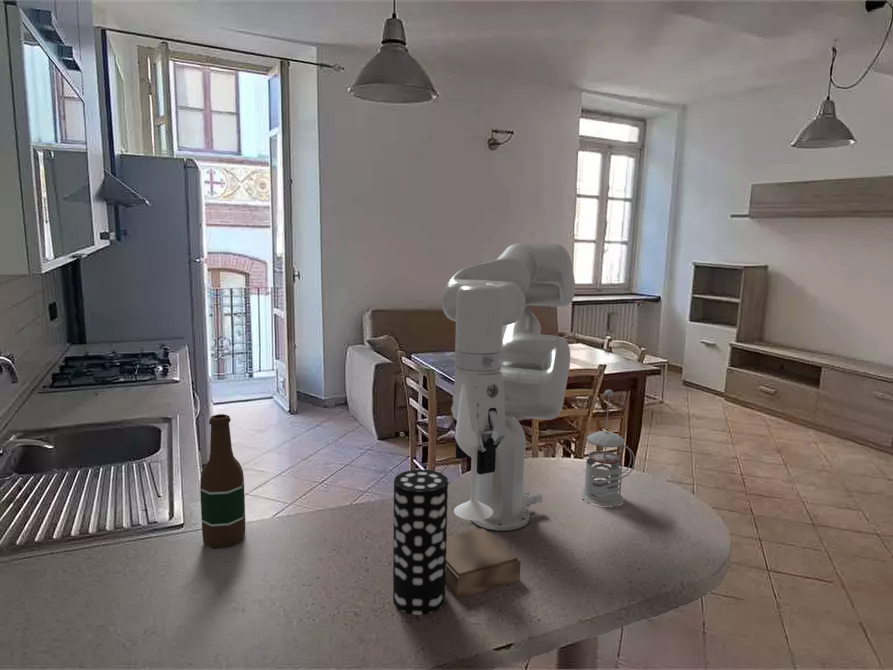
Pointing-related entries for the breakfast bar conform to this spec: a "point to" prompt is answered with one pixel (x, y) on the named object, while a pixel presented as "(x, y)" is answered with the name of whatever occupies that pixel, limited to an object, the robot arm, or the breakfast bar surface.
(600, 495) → the french press
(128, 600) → the breakfast bar surface
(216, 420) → the beer bottle
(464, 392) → the champagne flute
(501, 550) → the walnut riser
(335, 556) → the breakfast bar surface
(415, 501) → the spotted tube
